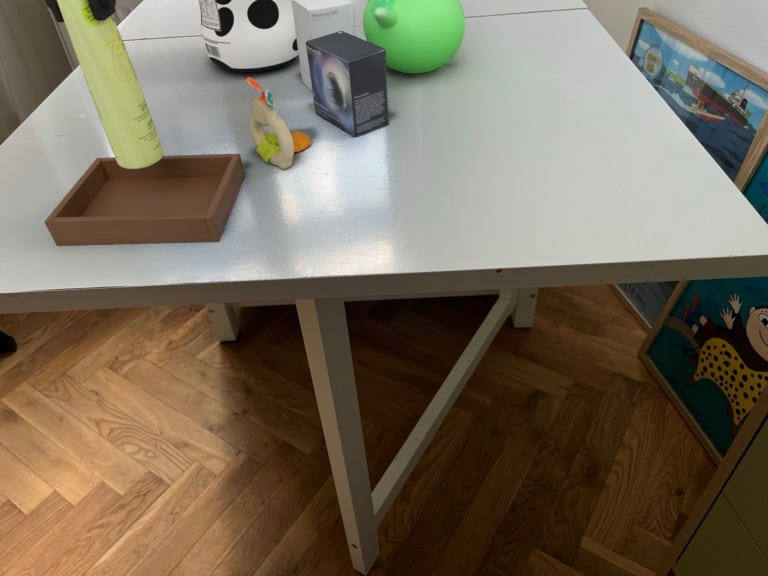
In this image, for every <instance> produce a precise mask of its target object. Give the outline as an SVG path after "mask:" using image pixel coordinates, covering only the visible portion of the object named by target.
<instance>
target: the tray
mask: <svg viewBox="0 0 768 576" xmlns="http://www.w3.org/2000/svg"><path fill="white" fill-rule="evenodd" d="M245 177H246V172H245V170H244V165H243V160H242V156H241V153H211V154H210V153H209V154H183V155H182V154H179V155H178V154H177V155H163V157H162V158H161V159H160V160H159V161H158V162H156V163H155V164H153V165H151V166H148V167H145V168H139V169H127V168H123V167H121V166H119V165H118V163H117V161H116V158H115V156H112V157H96V158H95V160H94V161H93V162H92V163H91V165H89V167H88V168H87V169H86V171H85V172H84V173H83V174H82V175H81V176H80V178H79V179H78V180H77V181H76V183H75V184H74V185H73V186H72V187H71V188H70V190H69V191H68V192H67V194H66V195H65V196H64V197H63V198H62V200H61V201H60V202H59V203H58V204H57V206H55V208H54V209H53V210H52V212H51V213H50V214H49V215H48V216H47V218H46V219H45V220H44V221H43V223H44V224H45V226H46V228H47V230H48V232H49V234H50V235H51V237H52V239H53V241H54V243H55V245H56V246H59V247H60V246H94V245H95V246H97V245H100V246H101V245H135V244H139V245H141V244H174V243H175V244H178V243H217V242H218V243H219V242H221V238H222V236H223V233H224V230H225V228H226V225H227V223H228V221H229V218H230V215H231V213H232V210H233V208H234V205H235V203H236V200H237V197H238V195H239V192H240V191H241V187H242V185H243V182H244V180H245Z"/></svg>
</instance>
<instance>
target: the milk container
mask: <svg viewBox="0 0 768 576" xmlns="http://www.w3.org/2000/svg"><path fill="white" fill-rule="evenodd" d="M198 4H199V10H200V35H201V41H202V44H203V48H204V50H205V52H206V55H207V57H208V59H209V60H210V62H212V64H214V65H215V66H216V67H218V68H220V69H223V70H226V71H229V72H238V73H253V72H254V73H256V72H257V73H258V72H264V71H270V70H274V69H278V68H281V67H283V66H286V65H288V64H290V63H292V62H293V61H296V60H297V58H299V53H298V45H297V38H296V30H295V23H294V16H293V8H292V1H291V0H198Z"/></svg>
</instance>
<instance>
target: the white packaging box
mask: <svg viewBox="0 0 768 576" xmlns="http://www.w3.org/2000/svg"><path fill="white" fill-rule="evenodd" d="M291 1H292V8H293V16H294V23H295V30H296V38H297V45H298V53H299V56H298V60H299V67H300V74H301V81H302V83H303V84H304V85H305V86H306V87H307V88H308V89H309V90H310V91H311V92H312V93H313V91H312V84H311V77H310V70H309V63H308V56H307V48H306V43H305V42H306V41H309V40H312V39H316V38H319V37H322V36H325V35H329V34H332V33H335V32H338V31H344V32H346V33H348V34H351V35H353V36H356V35H357V34H356V21H355V20H356V19H355V5H354V4H355V3H354V2H353V1H352V0H291ZM356 37H357V36H356Z"/></svg>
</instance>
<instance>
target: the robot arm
mask: <svg viewBox="0 0 768 576" xmlns="http://www.w3.org/2000/svg"><path fill="white" fill-rule="evenodd" d="M44 1H45V3H46V5H47V7H48V8H49V10H51V11H52V14H53V17H54V19H55V21H56V22H57V23H65V22H64V19H63V16H62V13H61V10H60V8H59V5H58V2H57V0H44ZM88 2H89V5H90V8H91V11H92V13H93V16H94V17H95V19H97V20H98V21H104V20H106V19H107V18H108V17H110V16H111V15H112V16H113V15H114V14H115V13H116V6H117V0H88Z"/></svg>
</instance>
